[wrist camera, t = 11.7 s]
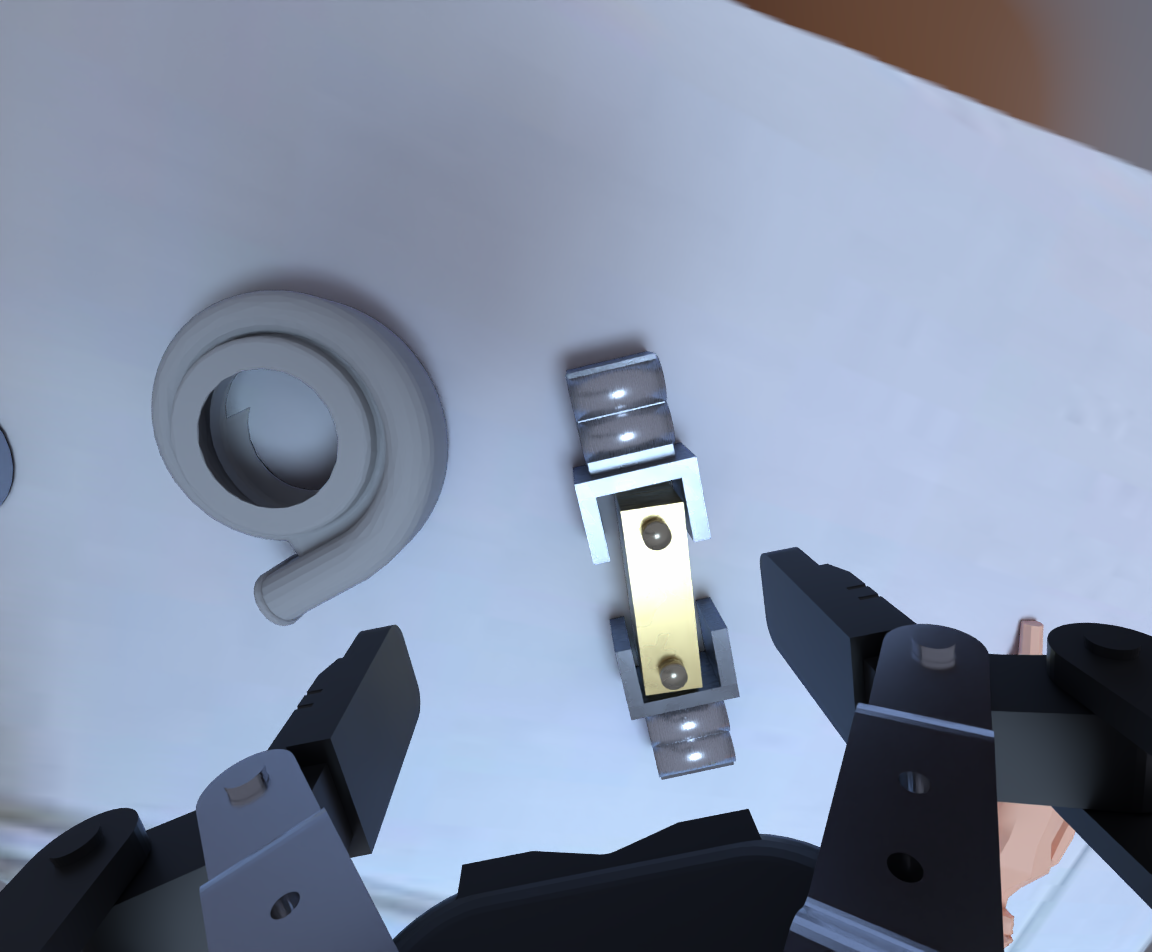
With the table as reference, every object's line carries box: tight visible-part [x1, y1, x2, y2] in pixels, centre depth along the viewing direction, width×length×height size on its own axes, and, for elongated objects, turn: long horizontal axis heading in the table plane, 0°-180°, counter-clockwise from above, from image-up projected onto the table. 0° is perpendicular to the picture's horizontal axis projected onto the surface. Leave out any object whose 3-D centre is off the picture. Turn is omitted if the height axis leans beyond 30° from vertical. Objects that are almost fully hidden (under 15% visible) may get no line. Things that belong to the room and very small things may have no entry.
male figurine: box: [997, 620, 1075, 948], centre depth 40 cm, size 11×5×25 cm
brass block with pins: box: [614, 481, 703, 695], centre depth 34 cm, size 4×12×6 cm, turn 9°
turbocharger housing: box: [152, 290, 448, 626], centre depth 32 cm, size 17×6×15 cm
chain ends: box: [565, 351, 740, 780], centre depth 35 cm, size 7×28×4 cm, turn 13°
